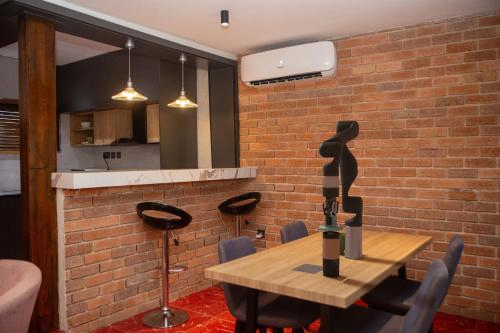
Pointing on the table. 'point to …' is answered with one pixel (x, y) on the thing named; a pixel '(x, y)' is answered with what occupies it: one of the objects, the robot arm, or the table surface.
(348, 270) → the table surface
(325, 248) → the travel mug
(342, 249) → the plant pot
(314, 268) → the mat
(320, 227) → the lid
